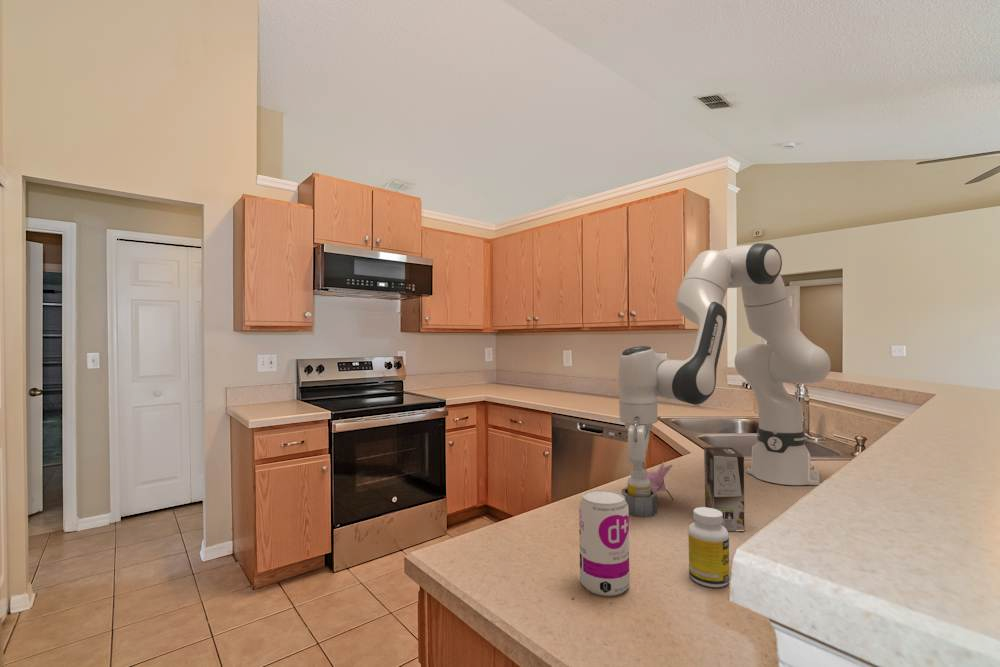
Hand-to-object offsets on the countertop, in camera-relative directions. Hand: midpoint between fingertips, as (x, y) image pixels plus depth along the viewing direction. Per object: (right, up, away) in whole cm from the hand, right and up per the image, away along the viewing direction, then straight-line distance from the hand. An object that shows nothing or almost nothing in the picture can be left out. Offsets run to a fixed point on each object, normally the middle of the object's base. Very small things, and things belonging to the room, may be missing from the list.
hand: (639, 471), depth 115 cm
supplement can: (-16, -10, -34) cm, 39 cm away
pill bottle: (+2, -9, -32) cm, 34 cm away
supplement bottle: (0, -10, 0) cm, 10 cm away
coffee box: (+17, -9, -8) cm, 21 cm away
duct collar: (0, -9, 0) cm, 9 cm away
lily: (+6, -10, +7) cm, 13 cm away
